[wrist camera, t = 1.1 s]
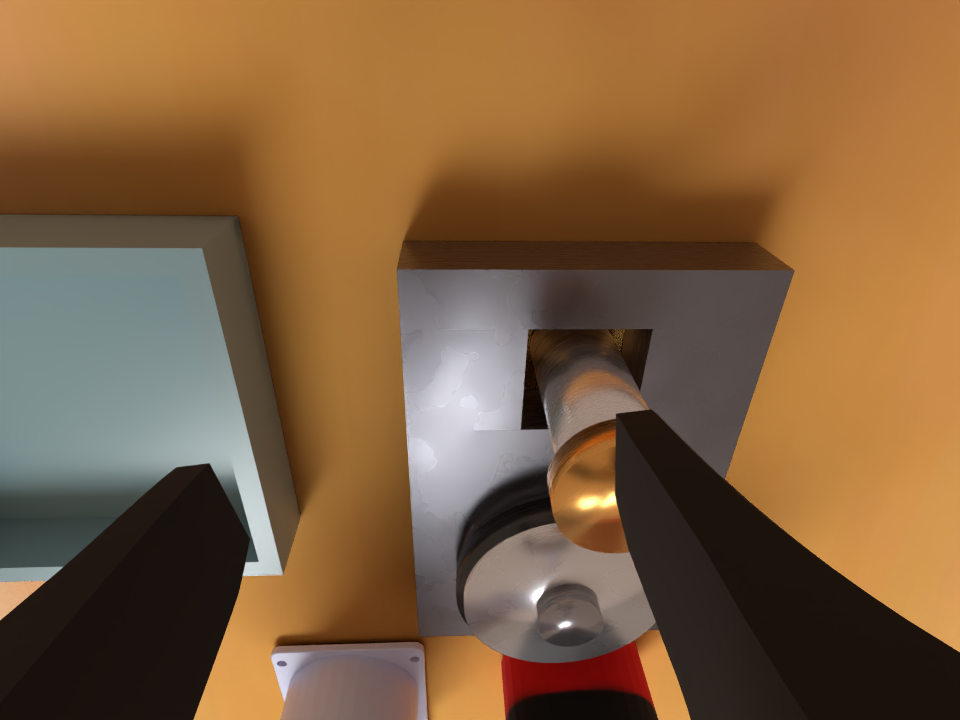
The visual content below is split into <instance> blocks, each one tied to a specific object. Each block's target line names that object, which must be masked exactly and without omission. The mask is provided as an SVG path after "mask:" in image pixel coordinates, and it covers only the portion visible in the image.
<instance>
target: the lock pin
mask: <svg viewBox="0 0 960 720" xmlns="http://www.w3.org/2000/svg"><path fill="white" fill-rule="evenodd" d="M530 354H531V358H532V362H533V366H534V370H535V375H536V379H537V383H538V387H539V391H540V395H541V399H542V404H543V408H544V412H545V416H546V420H547V424H548V428H549V432H550V437H551V441H552V445H553V449H554V453H555V455H554V457H553V459H552V461H551V463H550V466H549V469H548V474H547V487H548V492H549V497H550V502H551V506H552V511H553V516H554V520H555V522H556V525H557V527H558V528H559V530H560V531H561V532H562V534H563V535H564V536H565V537H566V538H568V539H569V540H570V541H571V542H573V543H575V544H576V545H578V546H580V547H582V548H585V549H588V550H591V551H596V552H602V553H628V552H629V549H628V546H627V542H626V538H625V534H624V530H623V527H622V523H621V519H620V515H619V511H618V507H617V503H616V499H615V450H616V413H625V412H633V411H641V410H649V408H648V406H647V404H646V402H645V400H644V398H643V396H642V394H641V392H640V391H639V389H638V387H637V385H636V383H635V381H634V379H633V377H632V375H631V373H630V371H629V369H628V367H627V365H626V363H625V361H624V360H623V358H622V356H621V354H620V352H619V350H618V348H617V346H616V344H615V342H614V340H613V338H612V336H611V334H610V332H609V330H608V329H535V331H534V333H533V335H532V337H531V341H530Z"/></svg>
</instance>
